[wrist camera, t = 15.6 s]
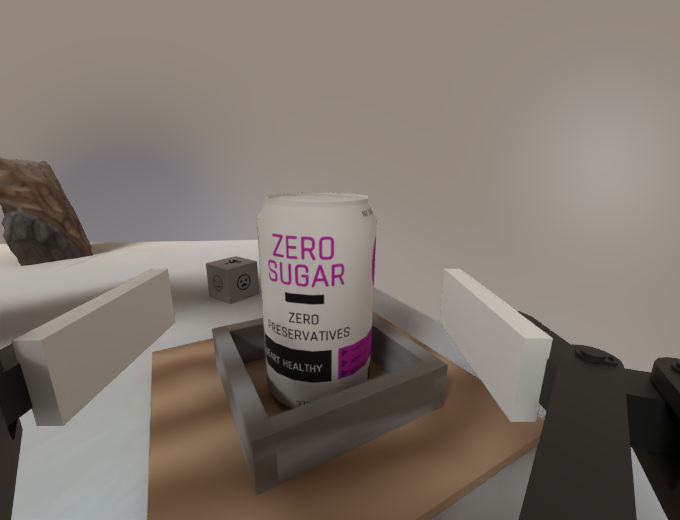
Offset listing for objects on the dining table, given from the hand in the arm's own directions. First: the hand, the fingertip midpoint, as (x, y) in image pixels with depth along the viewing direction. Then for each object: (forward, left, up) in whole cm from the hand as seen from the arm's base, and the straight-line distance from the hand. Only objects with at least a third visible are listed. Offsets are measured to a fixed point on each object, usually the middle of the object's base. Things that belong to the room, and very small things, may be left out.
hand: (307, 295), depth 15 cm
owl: (-73, -26, -12) cm, 79 cm away
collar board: (-7, +4, -12) cm, 15 cm away
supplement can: (-7, +4, -11) cm, 14 cm away
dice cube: (-33, +2, -12) cm, 35 cm away
